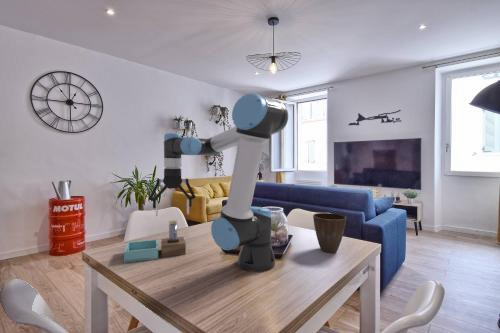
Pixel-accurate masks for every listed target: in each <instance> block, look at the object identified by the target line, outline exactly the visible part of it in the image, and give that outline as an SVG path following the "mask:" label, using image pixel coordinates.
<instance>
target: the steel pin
mask: <svg viewBox="0 0 500 333" xmlns="http://www.w3.org/2000/svg"><path fill="white" fill-rule="evenodd" d="M177 237H178V221H177V220H169V221H168V238H169V243H175V242H177Z"/></svg>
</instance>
